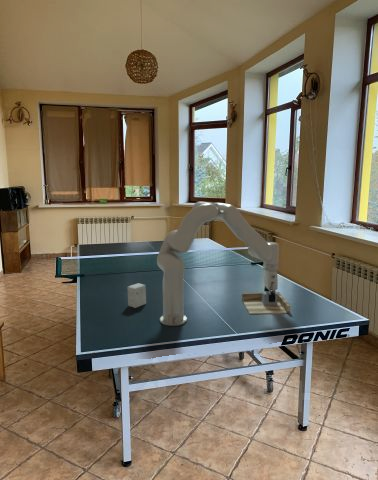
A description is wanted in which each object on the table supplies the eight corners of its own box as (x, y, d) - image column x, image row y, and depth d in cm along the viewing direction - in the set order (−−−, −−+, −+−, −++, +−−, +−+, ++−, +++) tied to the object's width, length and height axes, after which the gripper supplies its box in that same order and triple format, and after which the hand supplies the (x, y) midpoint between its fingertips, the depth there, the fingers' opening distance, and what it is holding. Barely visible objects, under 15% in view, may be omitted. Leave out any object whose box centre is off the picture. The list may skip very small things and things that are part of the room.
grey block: (263, 305, 193) (264, 294, 192) (261, 302, 197) (262, 291, 196) (277, 305, 193) (277, 294, 192) (274, 302, 197) (275, 291, 196)
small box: (139, 301, 201) (138, 282, 199) (146, 303, 198) (145, 284, 196) (127, 305, 195) (127, 286, 193) (135, 308, 192) (134, 288, 190)
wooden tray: (289, 313, 184) (290, 305, 183) (249, 314, 183) (249, 306, 182) (278, 299, 203) (278, 292, 203) (242, 300, 203) (242, 292, 202)
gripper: (282, 270, 183) (281, 304, 186) (273, 262, 200) (272, 293, 203) (267, 271, 183) (266, 304, 186) (259, 262, 200) (258, 293, 203)
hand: (269, 298), depth 194 cm, fingers open, 9 cm apart
